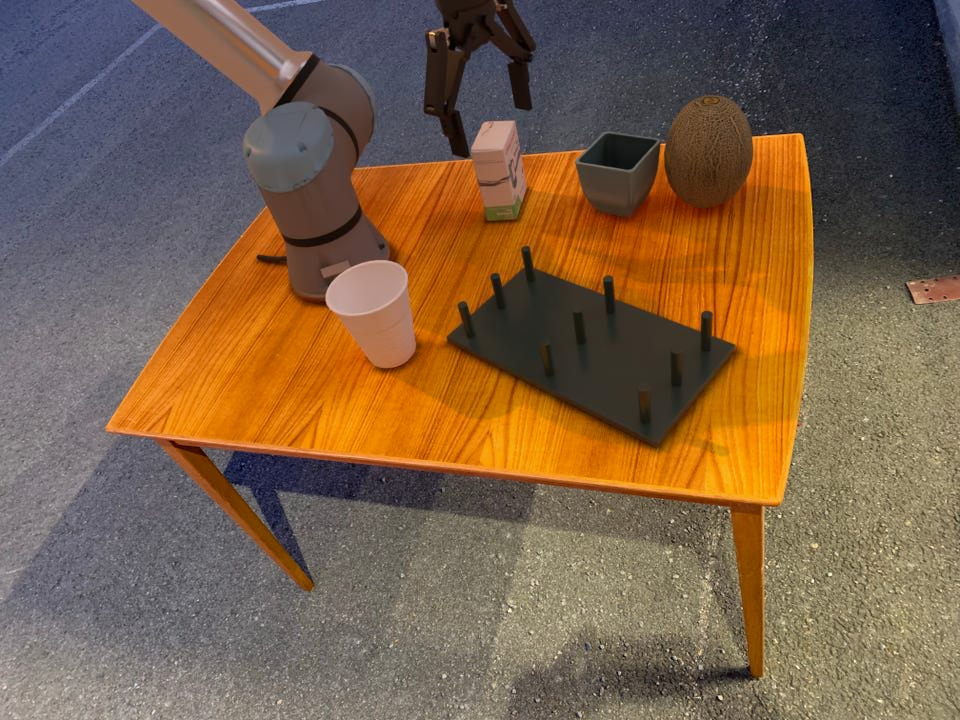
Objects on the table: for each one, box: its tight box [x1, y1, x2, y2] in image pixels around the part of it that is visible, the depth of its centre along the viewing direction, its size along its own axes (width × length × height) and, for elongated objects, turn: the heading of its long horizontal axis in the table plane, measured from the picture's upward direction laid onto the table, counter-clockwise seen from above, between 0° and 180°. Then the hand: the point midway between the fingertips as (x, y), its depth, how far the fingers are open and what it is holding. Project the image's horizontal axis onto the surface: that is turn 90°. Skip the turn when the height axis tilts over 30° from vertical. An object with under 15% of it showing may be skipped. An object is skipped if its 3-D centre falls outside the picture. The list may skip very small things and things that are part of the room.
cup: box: [325, 260, 417, 369], centre depth 84 cm, size 10×10×11 cm
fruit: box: [663, 94, 754, 209], centre depth 92 cm, size 11×11×15 cm
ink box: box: [470, 120, 528, 222], centre depth 102 cm, size 9×5×12 cm, turn 167°
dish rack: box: [445, 245, 737, 449], centre depth 80 cm, size 30×16×6 cm, turn 48°
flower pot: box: [574, 131, 662, 218], centre depth 97 cm, size 9×9×9 cm
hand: (493, 131), depth 98 cm, fingers open, 13 cm apart
